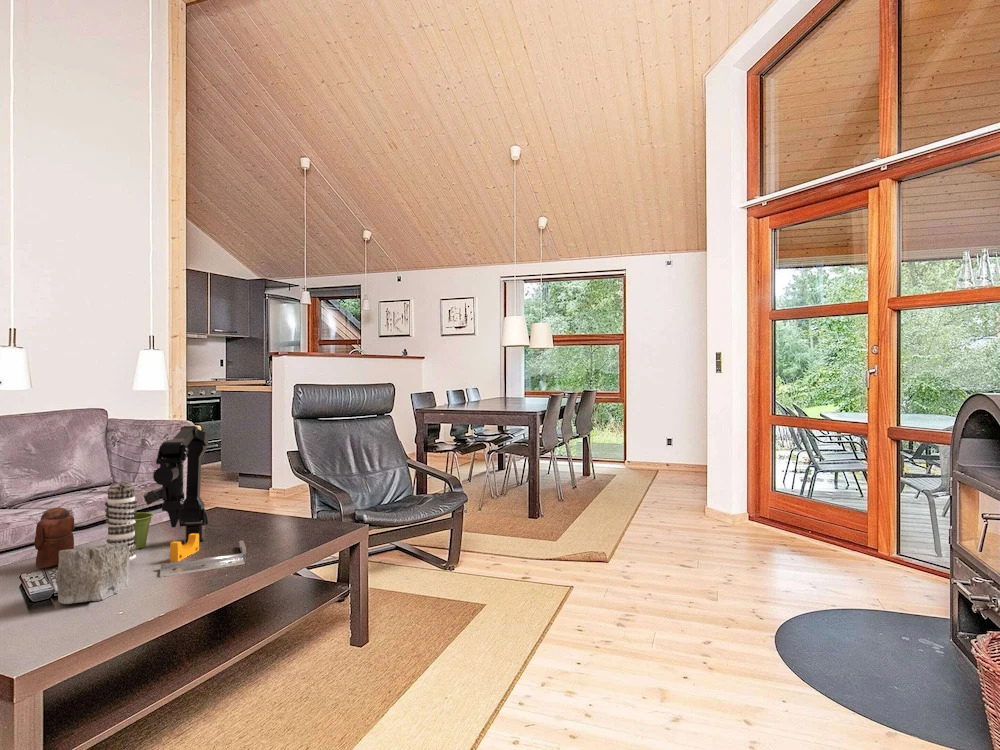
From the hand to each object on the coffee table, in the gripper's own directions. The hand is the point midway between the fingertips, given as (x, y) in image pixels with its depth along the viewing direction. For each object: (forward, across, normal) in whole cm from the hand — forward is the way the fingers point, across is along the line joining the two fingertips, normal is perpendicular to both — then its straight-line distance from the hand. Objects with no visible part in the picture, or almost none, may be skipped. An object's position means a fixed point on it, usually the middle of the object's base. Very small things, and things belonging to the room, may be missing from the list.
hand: (173, 526), depth 203 cm
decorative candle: (+12, -11, -16) cm, 23 cm away
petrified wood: (+12, +23, -19) cm, 32 cm away
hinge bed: (+11, +8, +8) cm, 17 cm away
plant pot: (+12, -24, -13) cm, 30 cm away
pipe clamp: (+12, -4, +3) cm, 13 cm away
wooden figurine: (+12, -15, -35) cm, 40 cm away
